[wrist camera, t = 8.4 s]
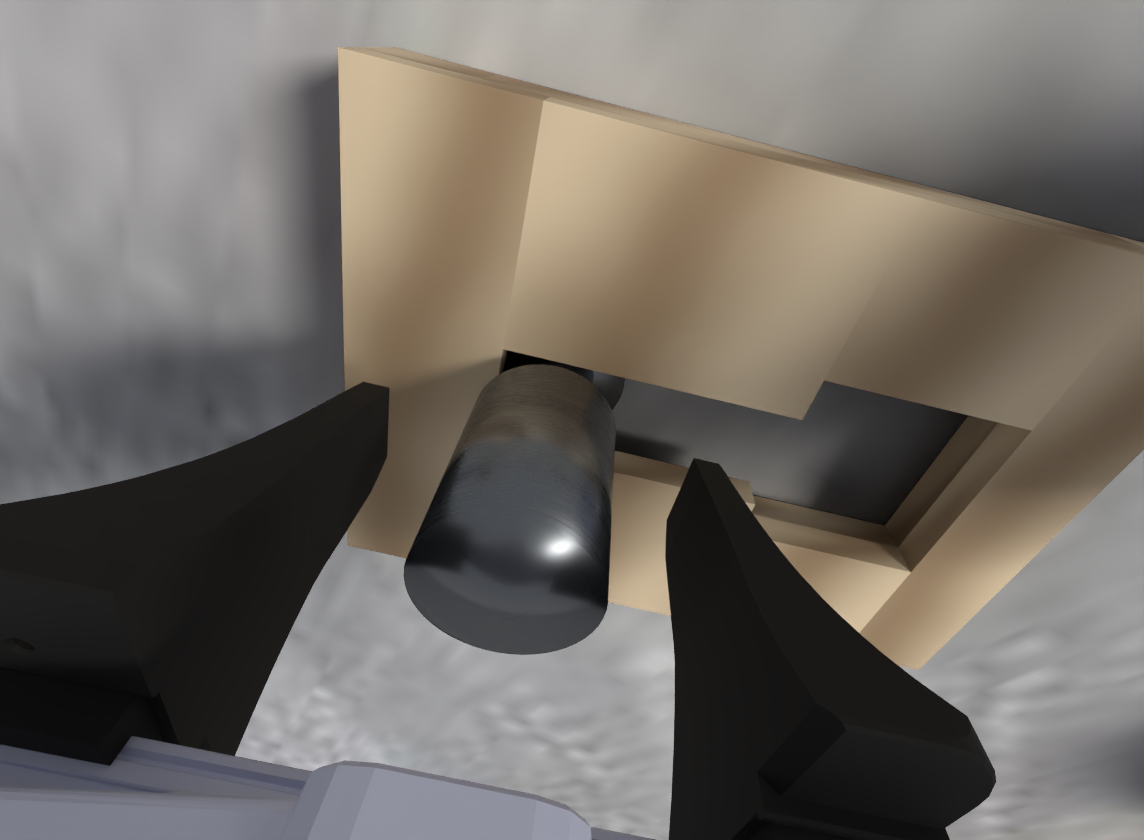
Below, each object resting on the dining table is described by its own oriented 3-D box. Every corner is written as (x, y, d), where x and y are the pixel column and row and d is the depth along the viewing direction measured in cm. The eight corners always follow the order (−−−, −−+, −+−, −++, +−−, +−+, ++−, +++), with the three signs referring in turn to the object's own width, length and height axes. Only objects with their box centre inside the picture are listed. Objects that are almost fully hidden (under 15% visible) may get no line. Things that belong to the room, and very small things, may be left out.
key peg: (637, 307, 16) (642, 531, 9) (612, 420, 18) (598, 675, 11) (501, 283, 16) (387, 487, 9) (492, 399, 18) (396, 640, 11)
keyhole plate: (1181, 252, 14) (1300, 296, 11) (886, 598, 22) (918, 669, 19) (393, 47, 13) (338, 47, 11) (381, 486, 21) (347, 545, 18)
